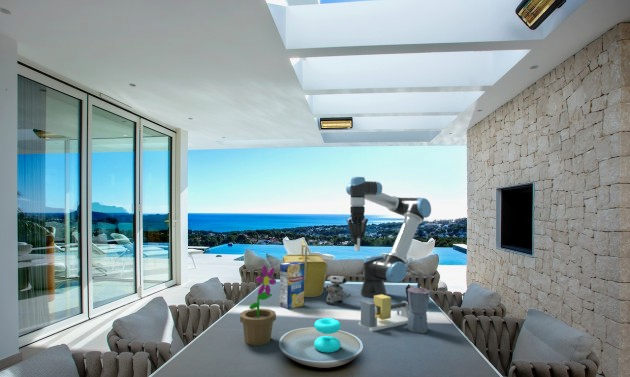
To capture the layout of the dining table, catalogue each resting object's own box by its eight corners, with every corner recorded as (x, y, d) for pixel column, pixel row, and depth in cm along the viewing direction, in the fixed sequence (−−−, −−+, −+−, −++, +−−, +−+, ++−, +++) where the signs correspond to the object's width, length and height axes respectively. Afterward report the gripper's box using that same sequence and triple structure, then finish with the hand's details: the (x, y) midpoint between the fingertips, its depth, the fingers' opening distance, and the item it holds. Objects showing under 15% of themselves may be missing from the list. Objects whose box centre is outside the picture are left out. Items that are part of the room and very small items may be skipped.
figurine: (339, 308, 185) (339, 279, 186) (323, 303, 194) (324, 275, 194) (351, 304, 192) (351, 276, 192) (335, 300, 200) (335, 273, 200)
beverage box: (279, 306, 188) (280, 263, 188) (296, 302, 195) (296, 261, 196) (287, 309, 183) (287, 265, 183) (303, 305, 190) (304, 263, 190)
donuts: (311, 318, 138) (335, 316, 141) (310, 344, 138) (335, 341, 141) (318, 327, 129) (344, 324, 132) (318, 355, 129) (344, 352, 131)
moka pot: (421, 337, 147) (421, 288, 148) (396, 325, 161) (396, 280, 161) (438, 333, 151) (438, 285, 152) (412, 322, 165) (412, 278, 166)
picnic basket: (281, 286, 232) (282, 239, 233) (321, 285, 235) (321, 239, 236) (282, 298, 203) (283, 245, 204) (327, 297, 206) (328, 245, 207)
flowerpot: (259, 350, 132) (260, 268, 133) (231, 341, 140) (232, 264, 141) (282, 338, 144) (284, 263, 145) (255, 330, 152) (257, 259, 153)
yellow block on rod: (382, 314, 166) (382, 294, 166) (390, 318, 161) (390, 297, 161) (373, 316, 163) (373, 295, 163) (382, 320, 158) (382, 298, 158)
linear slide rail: (401, 316, 174) (401, 293, 174) (415, 321, 166) (415, 297, 166) (358, 324, 161) (358, 300, 161) (371, 331, 153) (371, 305, 153)
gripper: (362, 205, 196) (362, 249, 196) (343, 205, 190) (342, 250, 189) (371, 206, 190) (371, 250, 189) (351, 206, 183) (351, 252, 182)
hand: (357, 250), depth 189 cm, fingers closed
